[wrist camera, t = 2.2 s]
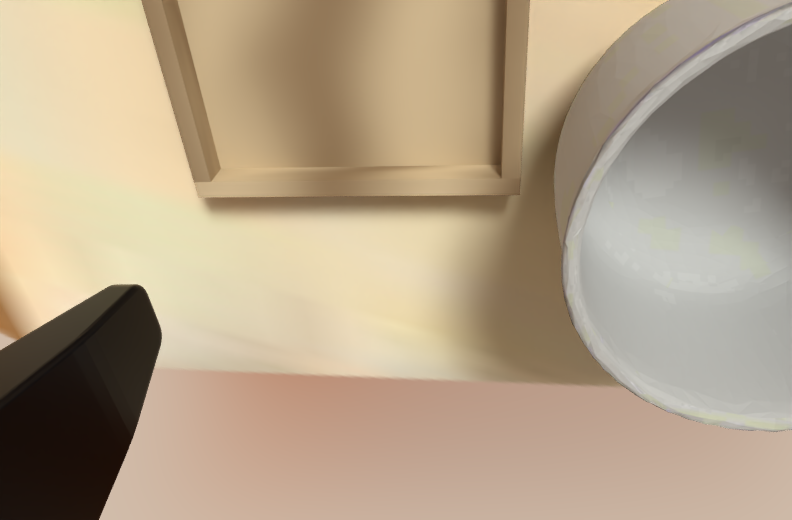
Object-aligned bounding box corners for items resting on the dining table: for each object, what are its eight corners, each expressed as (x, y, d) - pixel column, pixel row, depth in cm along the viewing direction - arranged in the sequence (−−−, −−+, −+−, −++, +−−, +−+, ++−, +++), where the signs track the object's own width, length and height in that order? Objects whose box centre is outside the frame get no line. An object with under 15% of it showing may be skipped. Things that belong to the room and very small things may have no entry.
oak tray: (537, -235, 15) (542, -241, 14) (517, 173, 21) (519, 194, 20) (114, -194, 16) (84, -195, 15) (213, 177, 22) (198, 197, 21)
